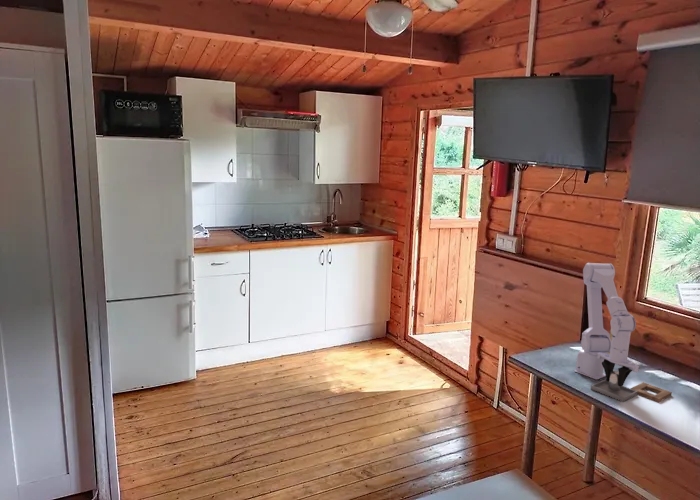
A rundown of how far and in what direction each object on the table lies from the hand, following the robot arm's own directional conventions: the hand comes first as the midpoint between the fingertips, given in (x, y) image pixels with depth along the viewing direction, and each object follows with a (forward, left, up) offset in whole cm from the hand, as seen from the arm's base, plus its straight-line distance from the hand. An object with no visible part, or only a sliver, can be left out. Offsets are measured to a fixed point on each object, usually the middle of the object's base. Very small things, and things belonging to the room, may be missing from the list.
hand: (614, 383), depth 191 cm
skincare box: (-19, +37, -4) cm, 42 cm away
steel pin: (0, 0, -2) cm, 2 cm away
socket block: (+8, +11, -3) cm, 14 cm away
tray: (0, 0, -3) cm, 3 cm away
